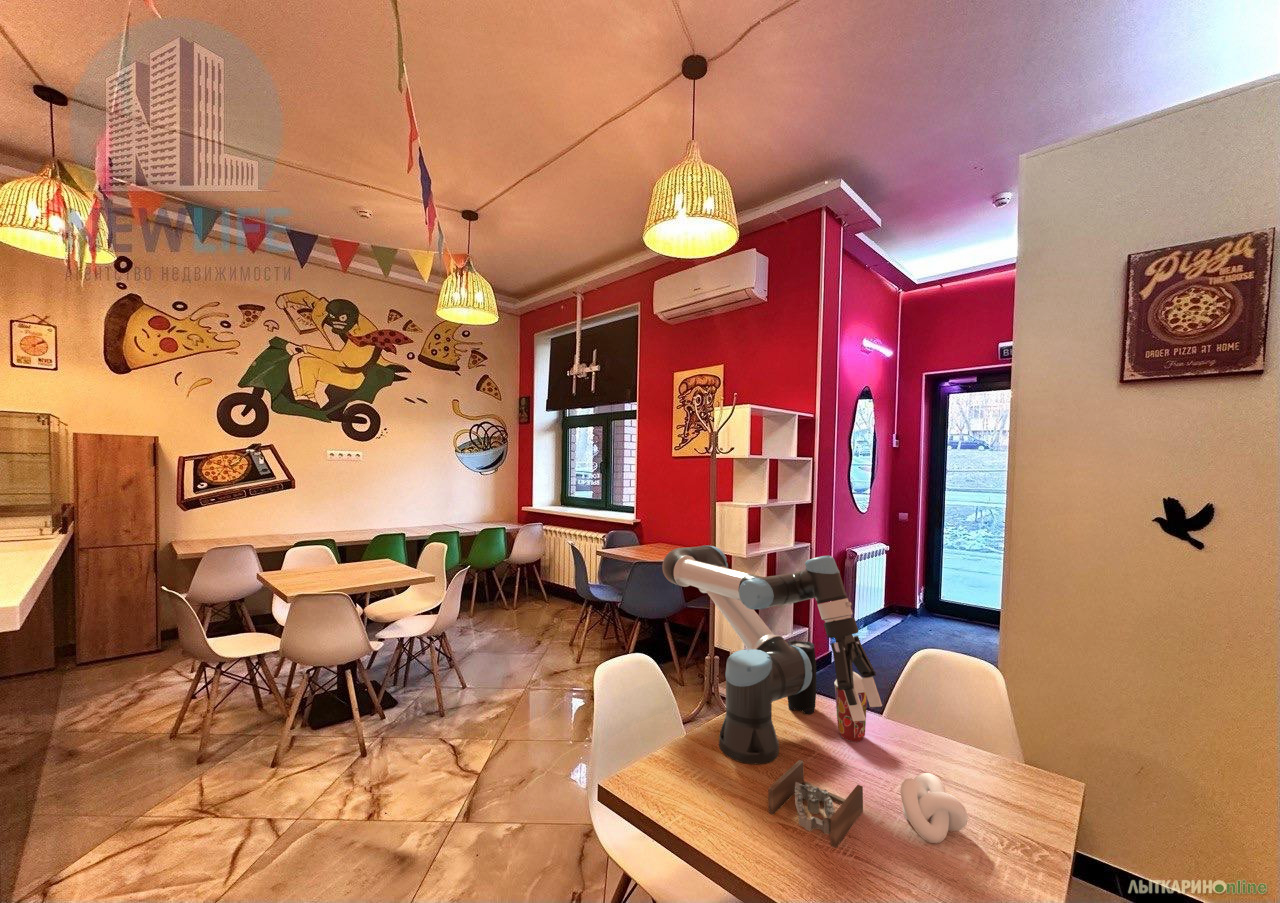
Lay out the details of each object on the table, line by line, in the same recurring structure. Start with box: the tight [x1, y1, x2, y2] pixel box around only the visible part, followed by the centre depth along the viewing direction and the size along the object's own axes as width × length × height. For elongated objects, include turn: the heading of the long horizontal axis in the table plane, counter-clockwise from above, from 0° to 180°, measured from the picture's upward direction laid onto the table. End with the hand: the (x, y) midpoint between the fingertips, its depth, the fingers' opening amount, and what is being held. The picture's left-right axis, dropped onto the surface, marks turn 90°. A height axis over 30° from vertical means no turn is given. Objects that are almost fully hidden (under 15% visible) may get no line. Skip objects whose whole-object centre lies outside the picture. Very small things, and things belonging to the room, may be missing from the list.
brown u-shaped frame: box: [768, 759, 864, 849], centre depth 102 cm, size 14×14×5 cm
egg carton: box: [794, 782, 835, 835], centre depth 101 cm, size 11×8×4 cm
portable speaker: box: [786, 639, 817, 715], centre depth 149 cm, size 9×9×20 cm
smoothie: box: [834, 671, 868, 743], centre depth 133 cm, size 8×8×20 cm
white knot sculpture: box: [900, 772, 969, 844], centre depth 98 cm, size 11×12×9 cm
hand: (868, 713), depth 114 cm, fingers open, 13 cm apart
